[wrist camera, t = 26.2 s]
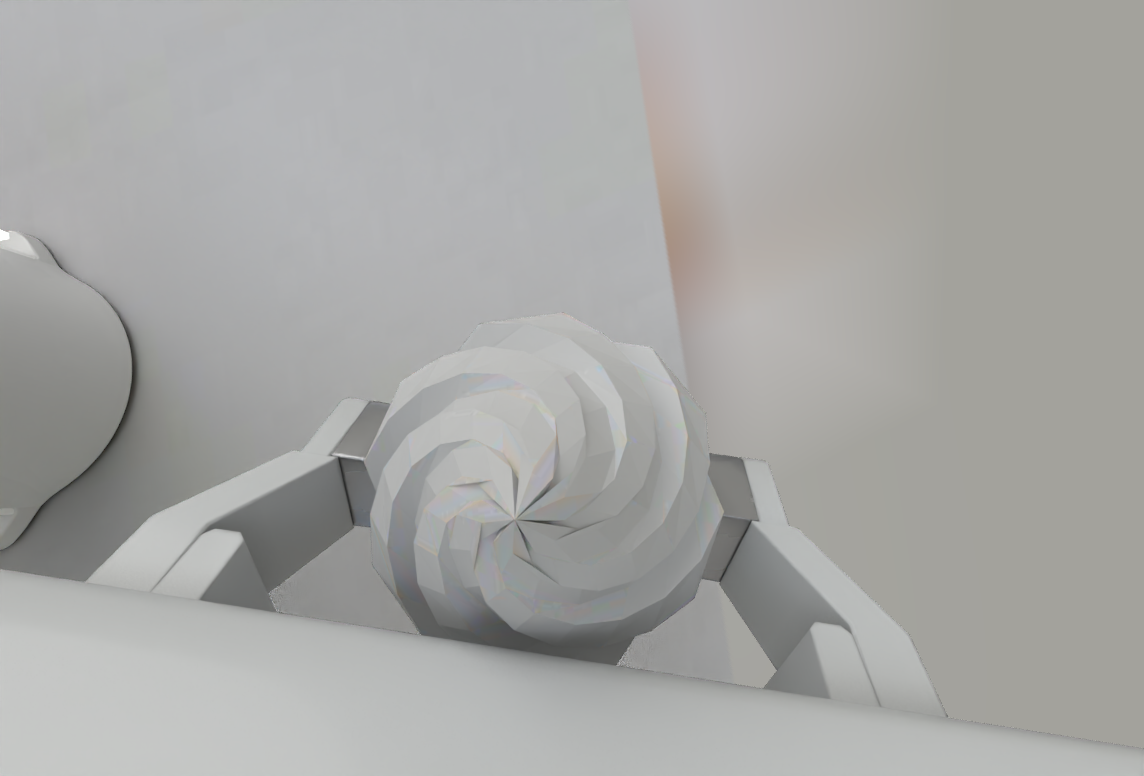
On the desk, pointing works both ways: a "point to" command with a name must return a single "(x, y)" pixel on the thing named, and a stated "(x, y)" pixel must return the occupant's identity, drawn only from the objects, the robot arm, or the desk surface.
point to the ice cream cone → (543, 491)
